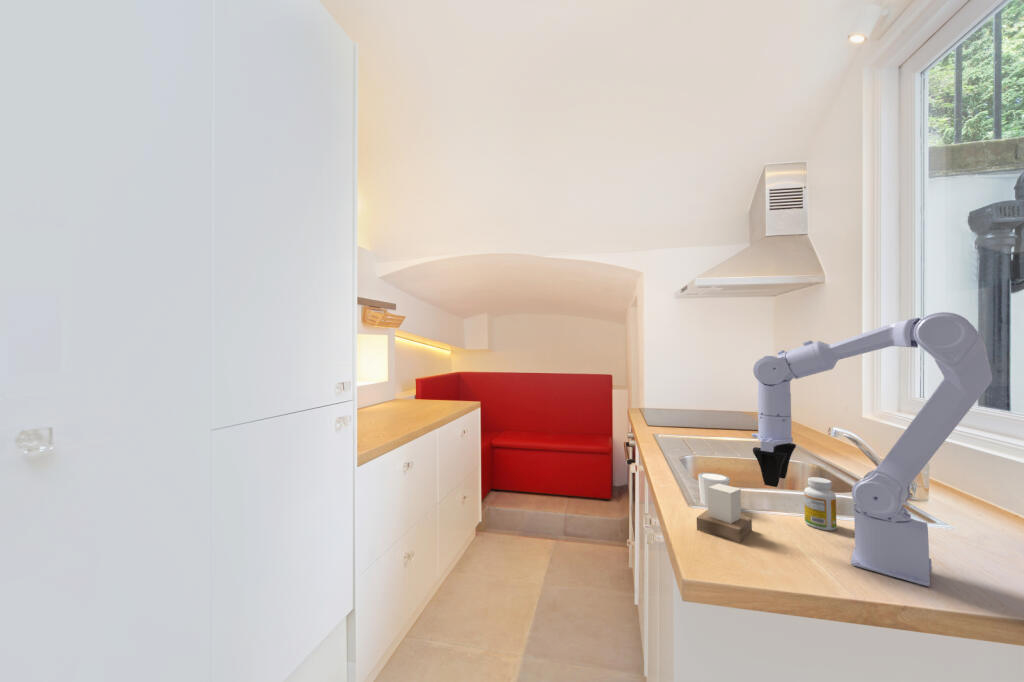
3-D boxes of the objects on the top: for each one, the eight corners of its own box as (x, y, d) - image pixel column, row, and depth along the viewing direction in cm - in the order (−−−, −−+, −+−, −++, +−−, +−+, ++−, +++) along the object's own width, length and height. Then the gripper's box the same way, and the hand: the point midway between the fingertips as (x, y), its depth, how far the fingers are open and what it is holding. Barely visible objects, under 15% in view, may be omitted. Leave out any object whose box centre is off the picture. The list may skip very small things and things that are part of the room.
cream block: (740, 518, 83) (740, 489, 83) (730, 523, 80) (730, 493, 80) (718, 511, 86) (718, 483, 86) (708, 516, 83) (708, 487, 84)
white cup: (732, 513, 92) (732, 482, 92) (699, 508, 94) (699, 478, 95) (727, 502, 98) (727, 473, 99) (697, 499, 101) (696, 470, 101)
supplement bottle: (825, 521, 88) (824, 476, 88) (843, 531, 82) (842, 484, 83) (799, 519, 88) (798, 475, 89) (815, 530, 83) (814, 483, 83)
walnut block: (751, 532, 83) (751, 518, 83) (739, 545, 77) (739, 529, 77) (711, 521, 88) (710, 507, 89) (696, 532, 83) (696, 517, 83)
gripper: (760, 409, 90) (761, 470, 90) (742, 416, 80) (743, 484, 79) (798, 412, 86) (799, 477, 85) (784, 420, 75) (786, 493, 75)
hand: (775, 481), depth 82 cm, fingers open, 7 cm apart
